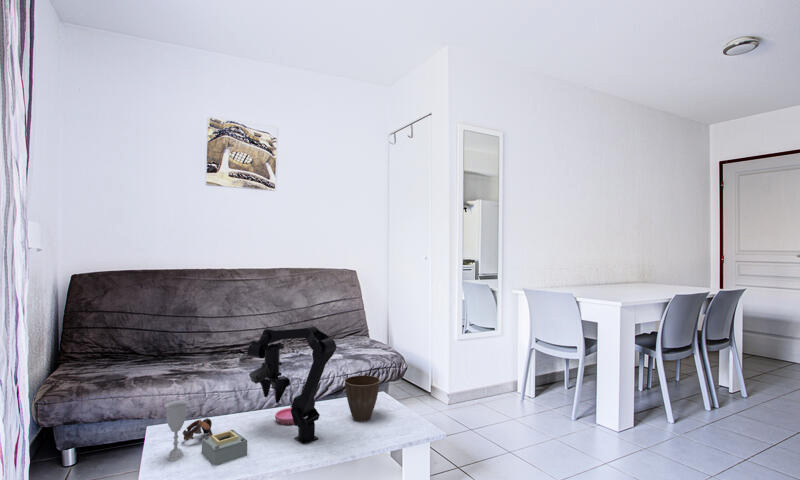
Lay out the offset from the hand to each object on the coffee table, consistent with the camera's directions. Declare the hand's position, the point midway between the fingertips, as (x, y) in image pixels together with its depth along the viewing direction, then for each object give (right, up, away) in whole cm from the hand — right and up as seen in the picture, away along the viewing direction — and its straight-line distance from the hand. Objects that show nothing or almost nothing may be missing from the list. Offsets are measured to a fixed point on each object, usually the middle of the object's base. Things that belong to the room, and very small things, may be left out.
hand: (271, 400), depth 167 cm
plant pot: (+34, -13, +13) cm, 39 cm away
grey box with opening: (-10, -11, -20) cm, 25 cm away
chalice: (-26, -11, -22) cm, 36 cm away
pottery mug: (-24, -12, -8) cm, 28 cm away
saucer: (+5, -13, +11) cm, 17 cm away
